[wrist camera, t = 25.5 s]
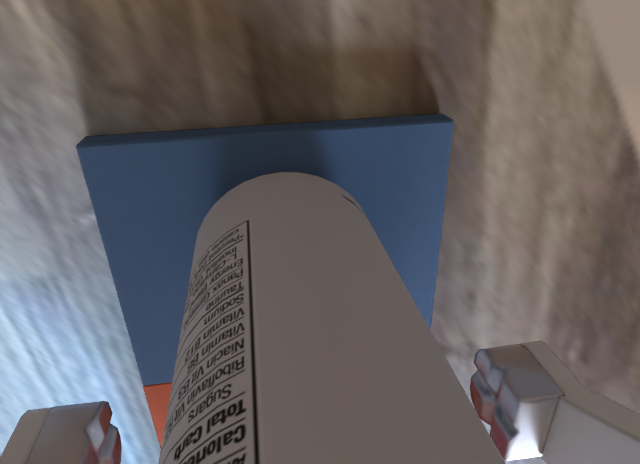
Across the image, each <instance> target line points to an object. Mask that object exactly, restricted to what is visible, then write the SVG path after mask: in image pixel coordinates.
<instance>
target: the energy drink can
mask: <svg viewBox="0 0 640 464" xmlns="http://www.w3.org/2000/svg"><path fill="white" fill-rule="evenodd" d="M159 464H505V462H504V461H503V459H502V457H501V455H500V453H499V452H498V450H497V448H496V446H495V444H494V443H493V441H492V439H491V437H490V436H489V434H488V432H487V430H486V428H485V427H484V425H483V423H482V421H481V420H480V418H479V416H478V414H477V412H476V411H475V409H474V407H473V405H472V404H471V402H470V400H469V398H468V396H467V395H466V393H465V391H464V389H463V388H462V386H461V384H460V382H459V380H458V379H457V377H456V375H455V373H454V372H453V370H452V368H451V366H450V364H449V363H448V361H447V359H446V357H445V356H444V354H443V352H442V350H441V348H440V347H439V345H438V343H437V341H436V340H435V338H434V336H433V334H432V332H431V331H430V329H429V327H428V325H427V323H426V322H425V320H424V318H423V316H422V315H421V313H420V311H419V309H418V307H417V306H416V304H415V302H414V300H413V299H412V297H411V295H410V293H409V291H408V290H407V288H406V286H405V284H404V283H403V281H402V279H401V277H400V275H399V274H398V272H397V270H396V268H395V267H394V265H393V263H392V261H391V259H390V258H389V256H388V254H387V252H386V251H385V249H384V247H383V245H382V243H381V242H380V240H379V238H378V236H377V235H376V233H375V231H374V229H373V227H372V226H371V224H370V222H369V220H368V218H367V217H366V215H365V213H364V212H363V210H362V208H361V206H360V205H359V204H358V203H357V202H356V200H355V199H354V198H353V197H352V196H351V195H350V194H349V193H348V192H346V191H345V190H343V189H342V188H341V187H339V186H338V185H336V184H335V183H333V182H330V181H328V180H326V179H323V178H321V177H319V176H314V175H310V174H305V173H299V172H279V173H273V174H267V175H262V176H259V177H256V178H253V179H251V180H248V181H245V182H243V183H241V184H240V185H238V186H236V187H235V188H233V189H231V190H230V191H228V192H227V193H226V194H225V195H224V196H223V197H222V198H220V199H219V200H218V201H217V202H216V203H215V204H214V205H213V207H212V208H211V209H210V211H209V212H208V214H207V215H206V216H205V218H204V220H203V222H202V224H201V227H200V229H199V231H198V234H197V239H196V245H195V250H194V256H193V262H192V268H191V274H190V280H189V286H188V292H187V298H186V304H185V310H184V315H183V321H182V327H181V333H180V339H179V345H178V351H177V357H176V363H175V369H174V375H173V381H172V387H171V393H170V399H169V405H168V411H167V417H166V423H165V429H164V434H163V440H162V446H161V452H160V458H159Z"/></svg>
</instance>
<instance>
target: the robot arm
mask: <svg viewBox="0 0 640 464" xmlns="http://www.w3.org/2000/svg"><path fill="white" fill-rule="evenodd" d="M474 364H475V365H476V367H477V369H478V370H477V371H476V373H475V374H474V375H473V376H472V377H471V384H470V392H471V398H472V402H473V405H474V408H475V410H476V412H477V414H478V415H479V417H480V419H482V420H483V421H485V422H486V423H488V424H489V425H491V431H490V437H491V438H492V440H493V442H494V444H495V445H496V447H497V449H498V451H499V452H500V454H501V456H502V457H503V459H504V461H510V460H518V459H525V458H532V457H539V456H542V459H543V460H544V461H546V462H547V463H548V464H640V414H639V413H637V412H635V411H633V410H631V409H629V408H627V407H625V406H623V405H621V404H619V403H617V402H615V401H613V400H611V399H609V398H607V397H605V396H603V395H601V394H599V393H597V392H588V391H587V389H586V388H585V387H584V386H583V385H582V384H581V383H580V381H579V380H578V379H577V378H576V377H575V376H574V375H573V374H572V372H571V371H570V370H569V369H568V368H567V367H566V366H565V364H564V363H563V362H562V361H561V360H560V359H559V358H558V357H557V355H556V354H555V353H554V352H553V351H552V350H551V349H550V348H549V346H548V345H547V344H546V343H544V342H542V341H534V342H527V343H521V344H514V345H507V346H500V347H493V348H487V349H480V350H478V351H477V353H476V354H475V359H474ZM111 417H112V411H111V408H110V406H109V403H108V402H105V401H101V402H92V403H83V404H74V405H65V406H56V407H52V408H43V409H34V410H28V411H27V412H26V413H24V414H23V415H22V416H21V418H20V420H19V422H18V424H17V426H16V428H15V430H14V431H13V433H12V435H11V437H10V439H9V441H8V443H7V445H6V447H5V449H4V451H3V453H2V455H1V457H0V464H120V462H121V440H120V435H119V431H118V428H117V427H115V426H113V425H112V424H110V420H111Z"/></svg>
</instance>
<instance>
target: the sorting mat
mask: <svg viewBox="0 0 640 464" xmlns="http://www.w3.org/2000/svg"><path fill="white" fill-rule="evenodd" d="M452 130H453V120H452V119H450V118H449V117H447V116H446V115H444V114H426V115H411V116H395V117H380V118H364V119H349V120H334V121H318V122H303V123H287V124H272V125H256V126H241V127H226V128H210V129H195V130H179V131H164V132H148V133H133V134H118V135H102V136H87V137H85V138H83V139H82V140H81V141H80V142H79V143H78V144H77V146H76V148H77V152H78V155H79V159H80V162H81V166H82V170H83V173H84V177H85V180H86V184H87V187H88V191H89V194H90V198H91V202H92V205H93V209H94V212H95V216H96V219H97V223H98V226H99V230H100V234H101V237H102V241H103V244H104V248H105V251H106V255H107V258H108V262H109V266H110V269H111V273H112V276H113V280H114V283H115V287H116V290H117V294H118V298H119V301H120V305H121V308H122V312H123V315H124V319H125V322H126V326H127V330H128V333H129V337H130V340H131V344H132V347H133V351H134V354H135V358H136V362H137V365H138V369H139V372H140V376H141V379H142V383H143V385H144V386H143V388H144V391H145V395H146V398H147V402H148V405H149V409H150V413H151V416H152V420H153V423H154V427H155V430H156V434H157V437H158V441H159V444H160V448H161V446H162V440H163V434H164V429H165V423H166V417H167V411H168V405H169V399H170V393H171V387H172V381H173V375H174V369H175V363H176V357H177V351H178V345H179V339H180V333H181V327H182V321H183V315H184V310H185V304H186V298H187V292H188V286H189V280H190V274H191V268H192V262H193V256H194V250H195V245H196V239H197V234H198V231H199V229H200V227H201V224H202V222H203V220H204V218H205V216H206V215H207V214H208V212H209V211H210V209H211V208H212V207H213V205H214V204H215V203H216V202H217V201H218V200H219V199H220V198H222V197H223V196H224V195H225V194H226V193H227V192H228V191H230V190H231V189H233V188H235V187H236V186H238V185H240V184H241V183H243V182H245V181H248V180H251V179H253V178H256V177H259V176H262V175H267V174H273V173H279V172H299V173H305V174H310V175H314V176H319V177H321V178H323V179H326V180H328V181H330V182H333V183H335V184H336V185H338V186H339V187H341V188H342V189H343V190H345V191H346V192H348V193H349V194H350V195H351V196H352V197H353V198H354V199H355V200H356V202H357V203H358V204H359V205H360V206H361V208H362V210H363V212H364V213H365V215H366V217H367V218H368V220H369V222H370V224H371V226H372V227H373V229H374V231H375V233H376V235H377V236H378V238H379V240H380V242H381V243H382V245H383V247H384V249H385V251H386V252H387V254H388V256H389V258H390V259H391V261H392V263H393V265H394V267H395V268H396V270H397V272H398V274H399V275H400V277H401V279H402V281H403V283H404V284H405V286H406V288H407V290H408V291H409V293H410V295H411V297H412V299H413V300H414V302H415V304H416V306H417V307H418V309H419V311H420V313H421V315H422V316H423V318H424V320H425V322H426V323H427V325H428V327H429V329H430V328H431V319H432V310H433V301H434V292H435V283H436V274H437V265H438V256H439V247H440V238H441V229H442V220H443V211H444V202H445V193H446V184H447V175H448V166H449V157H450V148H451V139H452Z"/></svg>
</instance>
